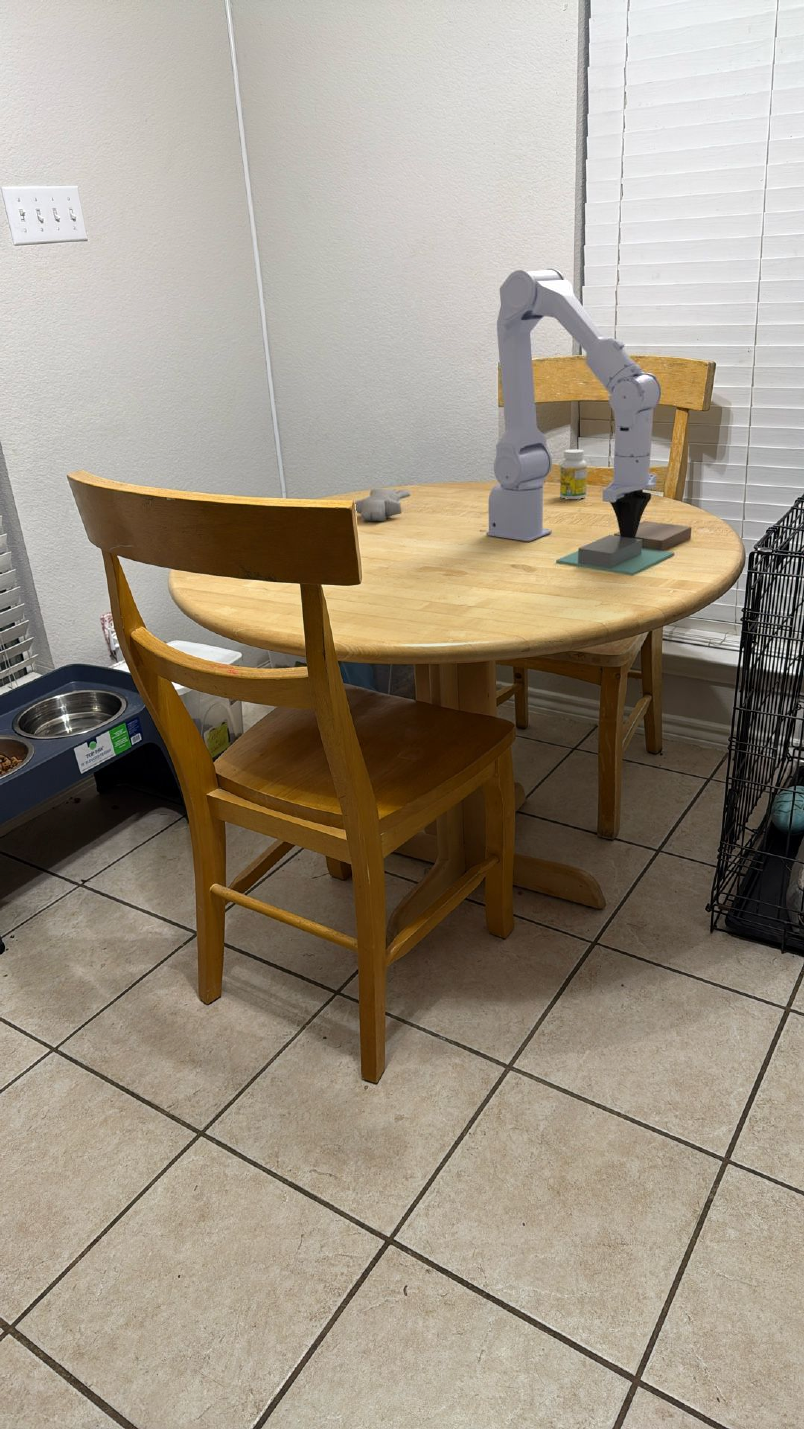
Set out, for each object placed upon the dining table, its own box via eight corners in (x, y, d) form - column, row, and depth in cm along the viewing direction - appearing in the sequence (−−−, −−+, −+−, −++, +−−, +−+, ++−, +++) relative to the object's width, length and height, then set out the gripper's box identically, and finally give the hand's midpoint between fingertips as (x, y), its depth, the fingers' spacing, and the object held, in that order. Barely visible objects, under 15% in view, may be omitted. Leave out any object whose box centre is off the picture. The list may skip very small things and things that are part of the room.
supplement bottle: (590, 498, 203) (592, 451, 199) (568, 501, 201) (569, 453, 197) (577, 493, 207) (578, 447, 203) (555, 496, 206) (556, 450, 202)
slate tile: (577, 563, 157) (578, 548, 156) (609, 549, 164) (609, 534, 163) (610, 568, 153) (611, 553, 152) (641, 554, 160) (642, 539, 159)
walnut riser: (613, 545, 168) (613, 533, 167) (643, 531, 175) (644, 520, 174) (661, 552, 162) (662, 540, 161) (690, 538, 170) (691, 526, 169)
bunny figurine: (346, 503, 190) (370, 479, 202) (349, 528, 193) (372, 503, 205) (392, 504, 187) (414, 480, 200) (394, 529, 190) (415, 504, 202)
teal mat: (556, 562, 159) (556, 560, 159) (599, 543, 169) (599, 541, 169) (632, 575, 151) (633, 572, 151) (674, 554, 160) (674, 552, 160)
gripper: (632, 463, 149) (628, 550, 154) (676, 449, 158) (670, 531, 164) (592, 459, 153) (589, 544, 158) (636, 446, 163) (632, 526, 168)
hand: (627, 537), depth 162 cm, fingers closed
